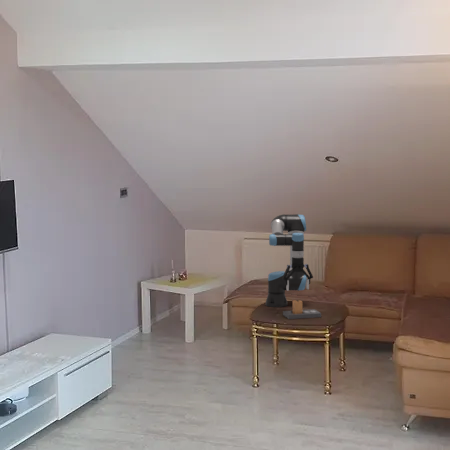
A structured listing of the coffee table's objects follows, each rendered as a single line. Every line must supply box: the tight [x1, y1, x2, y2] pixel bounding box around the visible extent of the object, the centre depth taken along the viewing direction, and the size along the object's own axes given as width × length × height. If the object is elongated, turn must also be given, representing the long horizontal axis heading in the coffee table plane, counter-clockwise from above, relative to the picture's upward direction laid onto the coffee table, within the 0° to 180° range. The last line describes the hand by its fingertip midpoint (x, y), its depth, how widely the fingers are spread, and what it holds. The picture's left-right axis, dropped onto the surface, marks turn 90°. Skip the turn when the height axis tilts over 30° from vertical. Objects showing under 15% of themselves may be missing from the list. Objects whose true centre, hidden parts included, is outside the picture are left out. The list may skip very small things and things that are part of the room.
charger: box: [291, 299, 304, 314], centre depth 445 cm, size 5×5×10 cm
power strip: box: [282, 309, 322, 320], centre depth 446 cm, size 12×22×3 cm, turn 103°
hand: (297, 289), depth 444 cm, fingers open, 13 cm apart
